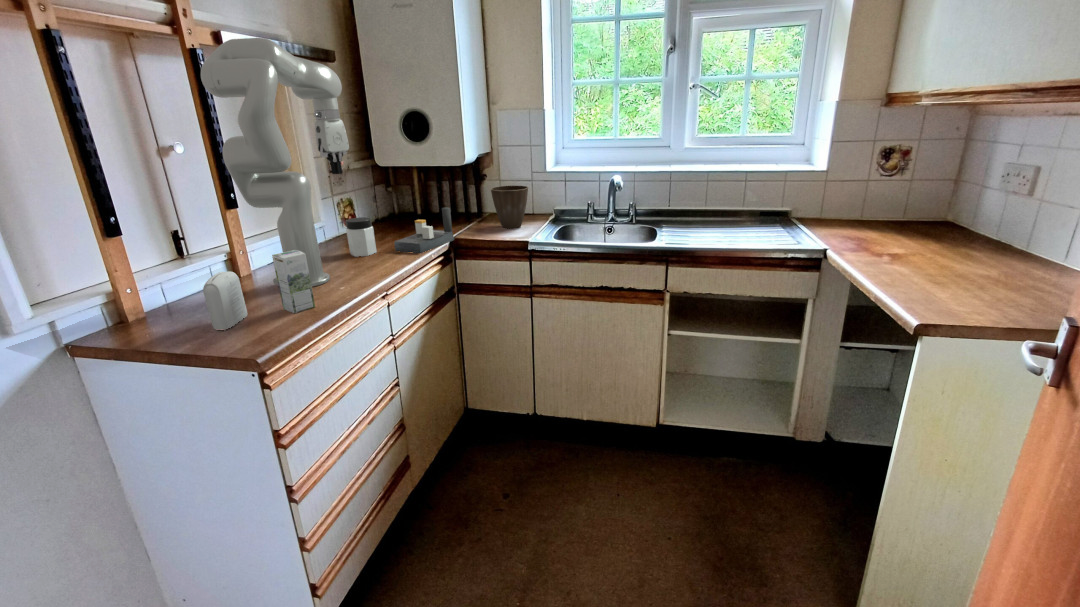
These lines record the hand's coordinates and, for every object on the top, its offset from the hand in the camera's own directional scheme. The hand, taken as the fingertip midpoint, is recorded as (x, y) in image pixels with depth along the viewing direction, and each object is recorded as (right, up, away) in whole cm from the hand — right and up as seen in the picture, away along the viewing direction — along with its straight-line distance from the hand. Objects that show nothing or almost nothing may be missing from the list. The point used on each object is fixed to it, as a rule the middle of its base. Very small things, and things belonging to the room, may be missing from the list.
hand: (337, 173), depth 176 cm
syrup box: (+8, -45, -44) cm, 64 cm away
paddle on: (+25, -18, +15) cm, 35 cm away
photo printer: (-5, -49, -52) cm, 71 cm away
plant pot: (+57, -13, +37) cm, 69 cm away
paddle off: (+29, -21, +8) cm, 37 cm away
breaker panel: (+27, -23, +13) cm, 38 cm away
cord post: (+34, -20, +20) cm, 45 cm away
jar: (+7, -27, +6) cm, 28 cm away
